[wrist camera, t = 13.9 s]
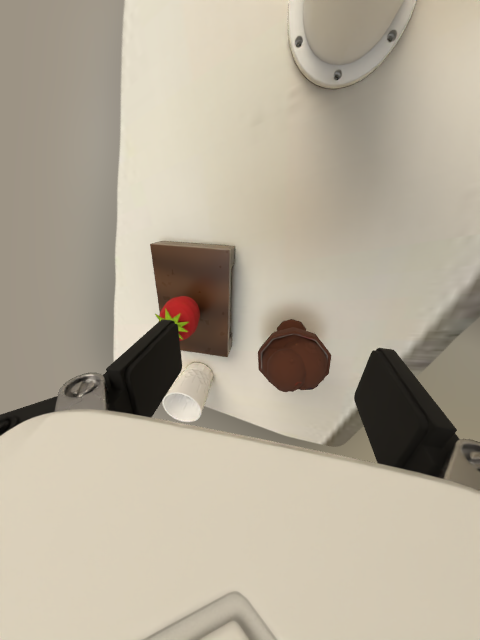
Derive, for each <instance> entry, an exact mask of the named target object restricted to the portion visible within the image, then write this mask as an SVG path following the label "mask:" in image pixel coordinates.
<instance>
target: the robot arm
mask: <svg viewBox="0 0 480 640" xmlns="http://www.w3.org/2000/svg"><path fill="white" fill-rule="evenodd" d="M416 2H417V0H289V4H288V36H289V42H290V48H291V51H292V54H293V57H294V60H295V62H296V64H297V66H298V67H299V69H300V71H301V72H302V73H303V74H304V75H305V77H306V78H307V79H308V80H310V81H311V82H313V83H314V84H316V85H318V86H321V87H324V88H342V87H347V86H350V85H352V84H354V83H356V82H358V81H360V80H362V79H363V78H365V77H366V76H368V75H369V74H370V73H371V72H373V71H374V70H375V69H376V68H377V67H378V66H379V65H380V64H381V63H382V62H383V61H384V59H385V58H386V57H387V56H388V54H389V53H390V52H391V51H392V49H393V48H394V46H395V45H396V43H397V42H398V40H399V39H400V37H401V35H402V33H403V31H404V30H405V28H406V26H407V24H408V22H409V20H410V17H411V15H412V12H413V10H414V7H415V5H416ZM387 39H390V40H391V42H388V40H387ZM298 44H300V46H301V47H299V48H298V47H296V46H297V45H298ZM336 76H337V77H338V80H335V79H334V78H335V77H336ZM181 369H182V361H181V351H180V341H179V331H178V325H177V324H175V322H174V321H172V320H165V319H162V320H161V321H159V322H158V323H157V324H156V325H155V326H154V327H153V328H152V329H150V330H149V331H148V332H147V333H146V334H145V335H144V336H143V337H142V338H140V339H139V340H138V341H137V342H136V343H135V344H134V345H133V346H131V347H130V348H129V349H128V350H127V351H126V352H125V353H124V354H122V355H121V356H120V357H119V358H118V359H117V360H116V361H115V362H113V363H112V364H111V365H110V366H109V367H108V368H107V369H106V370H107V372H106V373H105V374H104V375H101V374H99V373H86V374H82V375H80V376H76V377H74V378H72V379H70V380H69V381H68V382H66V383H65V384H64V385H63V386H62V387H61V388H60V390H59V393H58V396H57V397H53V398H50V399H47V400H44V401H41V402H38V403H35V404H32V405H29V406H26V407H23V408H20V409H17V410H14V411H11V412H7V413H5V414H1V415H0V640H480V442H477V441H474V440H470V439H459V438H458V437H457V435H456V434H455V432H456V431H457V430H456V428H455V427H454V426H453V424H452V423H451V422H450V421H449V419H448V418H447V417H446V415H445V414H444V413H443V412H442V410H441V409H440V408H439V407H438V405H437V404H436V403H435V402H434V400H433V399H432V398H431V396H430V395H429V394H428V393H427V391H426V390H425V389H424V387H423V386H422V385H421V384H420V382H419V381H418V380H417V379H416V377H415V376H414V375H413V373H412V372H411V371H410V370H409V368H408V367H407V366H406V365H405V363H404V362H403V361H402V359H401V358H400V357H399V356H398V354H397V353H396V352H395V351H394V350H391V349H383V348H378V349H377V350H376V351H372V353H371V355H370V357H369V360H368V362H367V365H366V367H365V370H364V372H363V375H362V377H361V380H360V382H359V385H358V387H357V390H356V392H355V396H354V399H355V403H356V406H357V408H358V411H359V414H360V417H361V419H362V422H363V425H364V427H365V430H366V433H367V436H368V438H369V441H370V444H371V446H372V449H373V452H374V454H375V457H376V460H377V463H373V462H369V461H365V460H360V459H355V458H350V457H345V456H341V455H336V454H331V453H326V452H321V451H316V450H311V449H307V448H302V447H297V446H292V445H287V444H282V443H278V442H272V441H268V440H263V439H258V438H253V437H248V436H242V435H238V434H233V433H228V432H223V431H218V430H212V429H208V428H203V427H198V426H193V425H187V424H182V423H177V422H172V421H167V420H162V419H156V418H151V417H152V415H153V414H154V412H155V411H156V409H157V408H158V406H159V405H160V403H161V401H162V400H163V398H164V397H165V395H166V394H167V392H168V391H169V389H170V387H171V386H172V384H173V383H174V381H175V380H176V378H177V377H178V375H179V373H180V372H181Z"/></svg>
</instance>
